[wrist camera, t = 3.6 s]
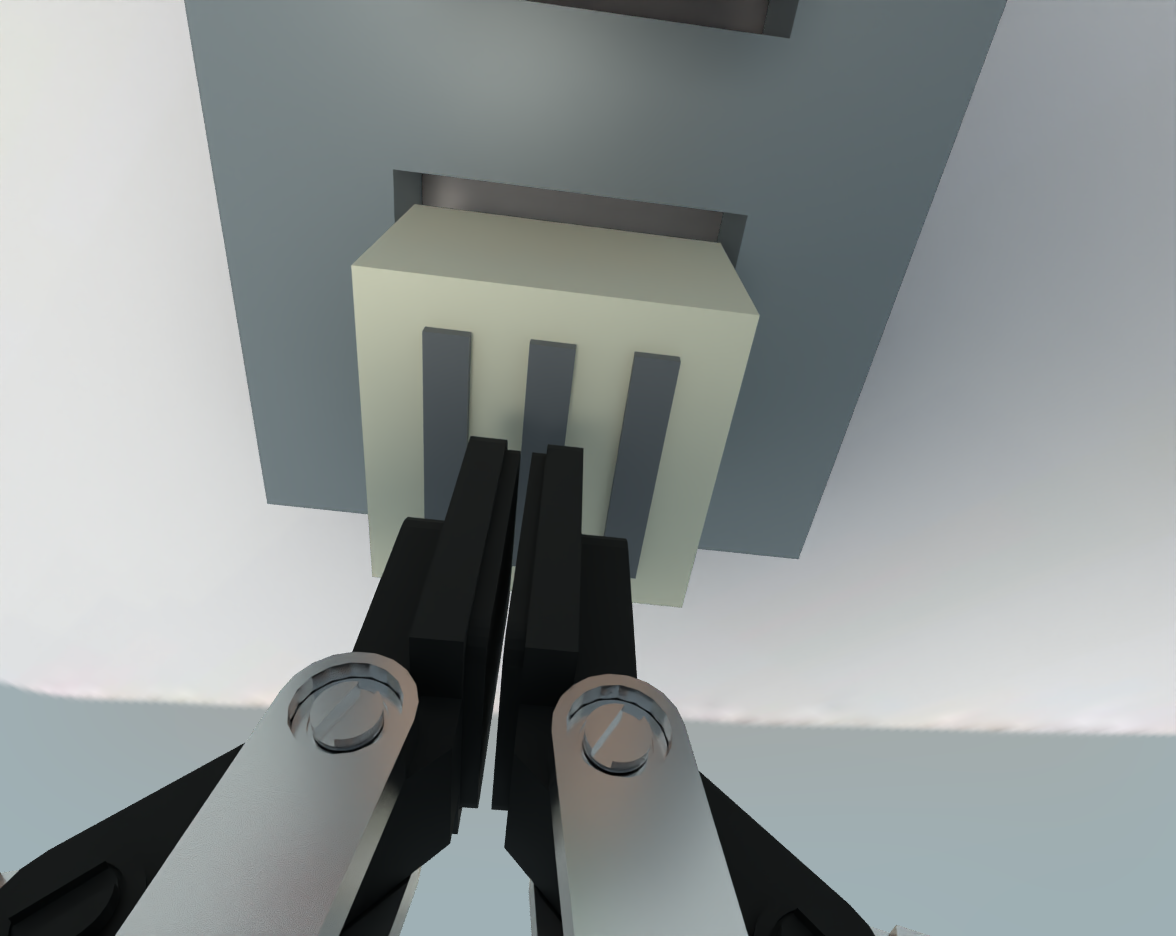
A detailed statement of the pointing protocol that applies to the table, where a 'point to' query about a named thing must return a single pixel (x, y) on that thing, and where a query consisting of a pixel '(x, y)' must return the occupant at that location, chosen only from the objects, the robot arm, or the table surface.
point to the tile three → (551, 373)
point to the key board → (584, 190)
